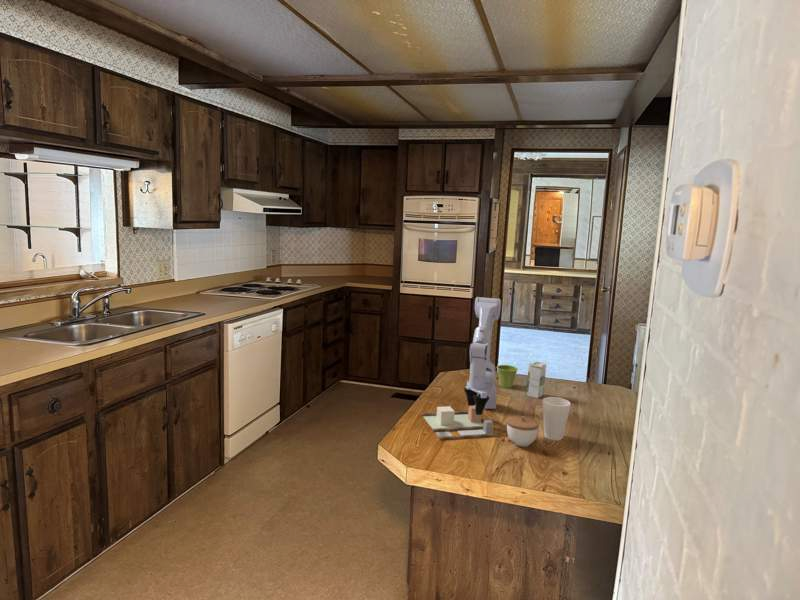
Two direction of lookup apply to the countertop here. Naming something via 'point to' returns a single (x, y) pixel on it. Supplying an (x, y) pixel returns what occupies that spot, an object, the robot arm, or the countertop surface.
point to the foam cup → (555, 417)
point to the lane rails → (448, 435)
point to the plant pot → (506, 375)
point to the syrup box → (536, 379)
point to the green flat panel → (458, 420)
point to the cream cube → (445, 415)
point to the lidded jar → (522, 430)
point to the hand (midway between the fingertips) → (475, 410)
